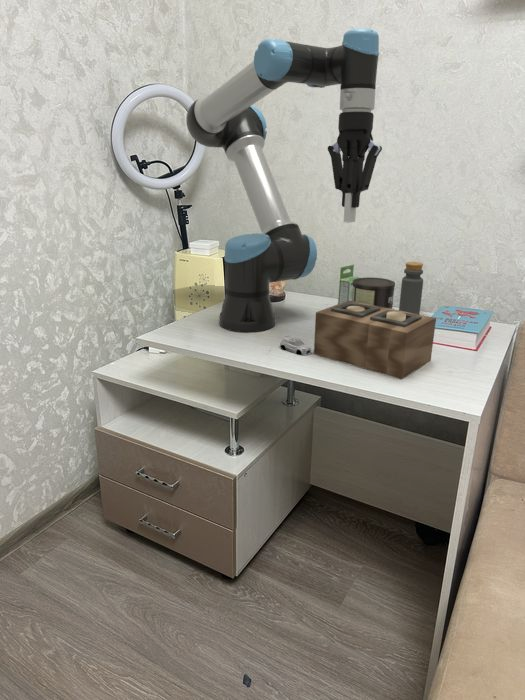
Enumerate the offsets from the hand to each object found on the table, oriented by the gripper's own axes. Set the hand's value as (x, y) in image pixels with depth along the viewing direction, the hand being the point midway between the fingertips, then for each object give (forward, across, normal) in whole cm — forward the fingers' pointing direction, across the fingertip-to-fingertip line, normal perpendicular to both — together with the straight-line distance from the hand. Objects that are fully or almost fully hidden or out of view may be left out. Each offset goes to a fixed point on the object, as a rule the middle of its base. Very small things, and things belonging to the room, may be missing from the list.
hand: (349, 221), depth 123 cm
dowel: (+26, +18, -8) cm, 33 cm away
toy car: (+29, -2, -16) cm, 33 cm away
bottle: (+29, +4, +30) cm, 42 cm away
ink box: (+29, -11, +21) cm, 37 cm away
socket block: (+28, +13, -8) cm, 32 cm away
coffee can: (+29, +5, +5) cm, 29 cm away
